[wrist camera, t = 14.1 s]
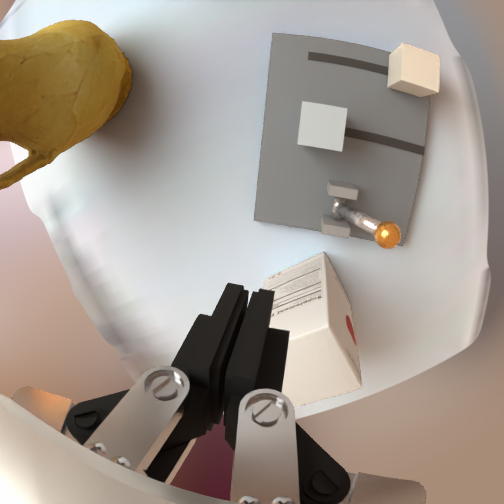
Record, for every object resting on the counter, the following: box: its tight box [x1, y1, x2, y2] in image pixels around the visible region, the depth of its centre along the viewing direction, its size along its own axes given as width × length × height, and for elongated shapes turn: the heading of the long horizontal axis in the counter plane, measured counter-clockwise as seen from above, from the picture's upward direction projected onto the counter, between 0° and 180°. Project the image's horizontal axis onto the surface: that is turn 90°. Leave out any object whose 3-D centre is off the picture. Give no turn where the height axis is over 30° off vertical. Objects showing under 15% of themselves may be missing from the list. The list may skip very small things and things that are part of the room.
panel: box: [254, 33, 430, 246], centre depth 26 cm, size 22×18×5 cm
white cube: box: [297, 101, 347, 152], centre depth 25 cm, size 4×4×5 cm
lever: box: [331, 196, 401, 249], centre depth 25 cm, size 2×2×9 cm
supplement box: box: [262, 252, 362, 407], centre depth 30 cm, size 9×9×15 cm
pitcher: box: [0, 20, 132, 190], centre depth 20 cm, size 17×19×25 cm
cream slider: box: [387, 43, 440, 97], centre depth 20 cm, size 4×4×5 cm
